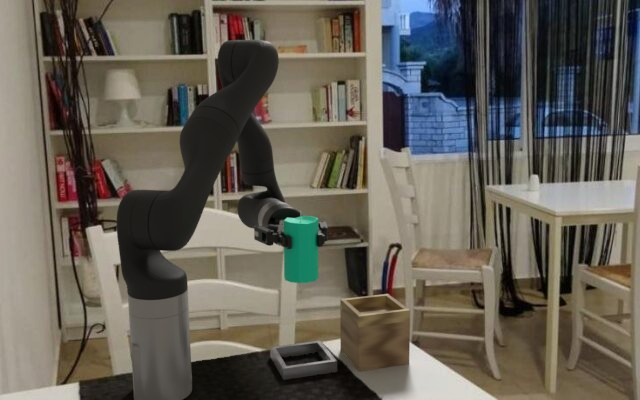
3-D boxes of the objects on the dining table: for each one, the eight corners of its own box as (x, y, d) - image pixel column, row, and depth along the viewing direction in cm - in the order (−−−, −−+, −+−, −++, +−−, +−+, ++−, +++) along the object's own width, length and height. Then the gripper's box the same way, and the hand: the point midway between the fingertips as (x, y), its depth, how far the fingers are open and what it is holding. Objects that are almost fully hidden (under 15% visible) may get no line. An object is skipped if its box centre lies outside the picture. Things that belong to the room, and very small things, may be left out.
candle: (320, 273, 112) (320, 207, 110) (316, 283, 106) (316, 214, 104) (286, 272, 113) (286, 206, 111) (281, 282, 107) (280, 213, 105)
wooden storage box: (359, 371, 109) (359, 316, 108) (340, 350, 118) (340, 299, 117) (409, 363, 112) (410, 310, 111) (387, 343, 121) (387, 293, 120)
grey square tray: (283, 379, 106) (283, 368, 106) (270, 357, 115) (270, 347, 115) (337, 371, 109) (337, 360, 109) (320, 350, 118) (320, 340, 118)
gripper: (243, 205, 119) (263, 223, 103) (315, 201, 123) (345, 217, 107) (244, 244, 120) (264, 267, 104) (315, 238, 125) (345, 260, 109)
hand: (305, 242), depth 106 cm, fingers closed on candle, 5 cm apart
